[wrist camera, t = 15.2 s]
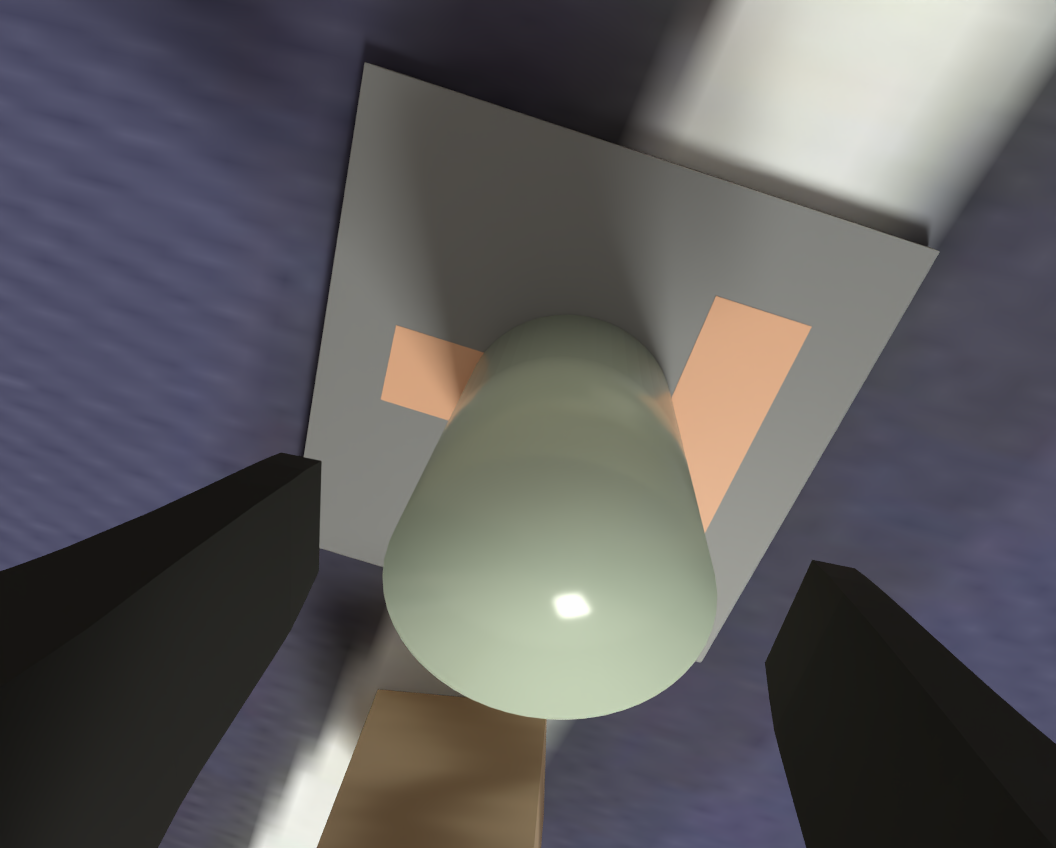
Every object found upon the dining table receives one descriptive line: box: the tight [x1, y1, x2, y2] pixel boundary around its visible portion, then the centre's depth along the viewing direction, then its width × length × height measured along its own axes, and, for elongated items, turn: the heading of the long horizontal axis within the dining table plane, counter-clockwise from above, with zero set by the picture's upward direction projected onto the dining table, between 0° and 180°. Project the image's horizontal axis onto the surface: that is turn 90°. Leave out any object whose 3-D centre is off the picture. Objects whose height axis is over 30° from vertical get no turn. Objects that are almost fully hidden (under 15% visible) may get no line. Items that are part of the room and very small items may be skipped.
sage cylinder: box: [383, 315, 717, 720], centre depth 11 cm, size 4×4×6 cm
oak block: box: [317, 689, 546, 848], centre depth 18 cm, size 5×5×5 cm
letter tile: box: [304, 63, 940, 662], centre depth 14 cm, size 11×11×1 cm
